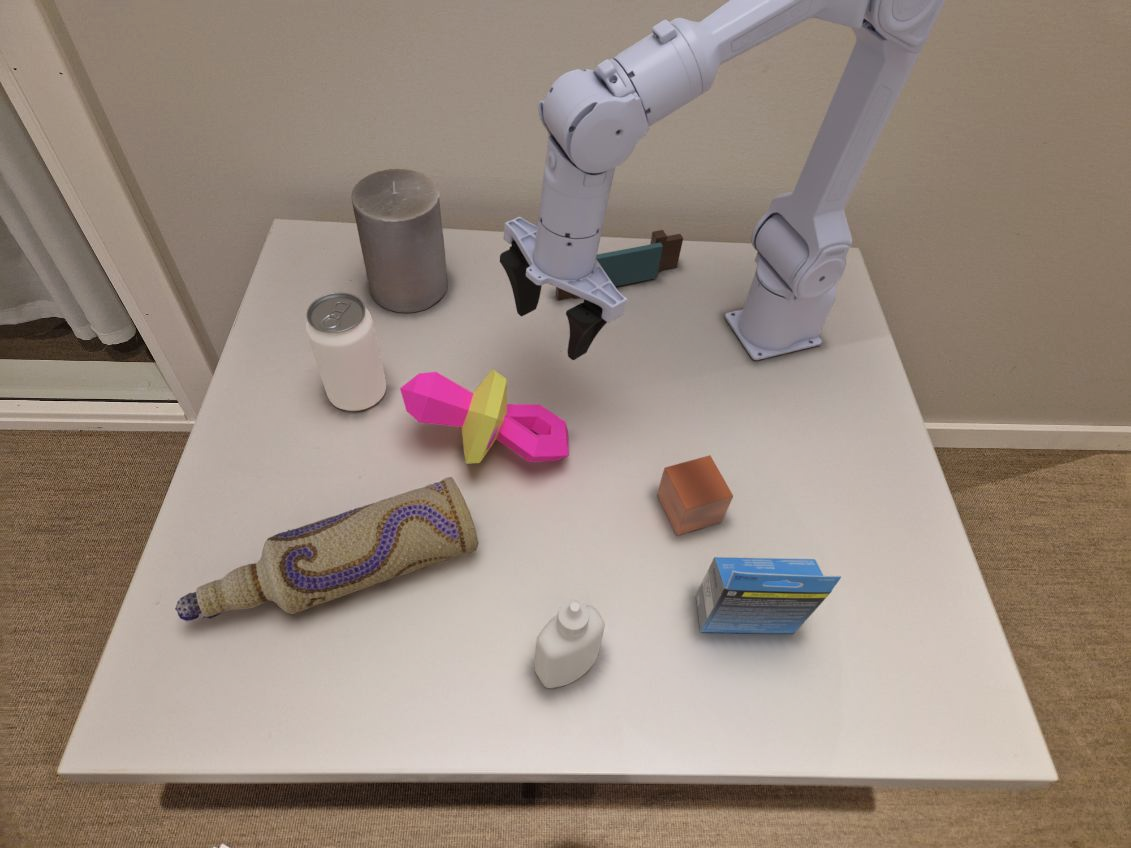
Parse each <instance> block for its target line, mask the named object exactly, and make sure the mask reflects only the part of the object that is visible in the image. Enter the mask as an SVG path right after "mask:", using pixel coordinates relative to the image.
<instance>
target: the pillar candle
mask: <svg viewBox="0 0 1131 848" xmlns="http://www.w3.org/2000/svg"><path fill="white" fill-rule="evenodd" d="M350 195H351V198H350V199H351V203H352V209H353V214H354V218H355V224H356V229H357V233H358V238H359V244H360V248H361V254H362V260H363V265H364V269H365V273H366V278H367V282H368V288H369V291H370V296H371V297H372V299H373V300H374V302H375V303H376V304H377V305H379V306H380V307H382V308H384V309H385V310H389V311H392V312H397V313H404V314H405V313H417V312H422V311H424V310H427V309H430V307H432V306H433V305H434V304H436V303H438V301H440V300H441V299H442V298H444V296H445V294H446V293H447V289H448V273H447V261H446V260H447V259H446V253H445V252H446V249H445V239H444V231H443V222H442V212H441V202H440V198H441V192H440V190H439V188H438V186H437V184H436V183H435V181H434V180H433V179H432V178H430V177H429V176H428V175H426V174H424V173H423V172H420V171H416V170H413V169H406V168H388V169H383V170H379V171H375V172H372V173H370V174H368V175H366V176H365V177H363V178H362V179H359V181H358V182H357V183H356V184H355V185H354V187H353V188H352V191H351V194H350Z"/></svg>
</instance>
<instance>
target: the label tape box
mask: <svg viewBox="0 0 1131 848" xmlns="http://www.w3.org/2000/svg"><path fill="white" fill-rule="evenodd" d="M841 578H842V575H824V574H823V571H822V570H821V567H820V566H819V564H818V561H817V560H816V559H815V558H774V557H773V558H772V557H771V558H770V557H769V558H768V557H767V558H766V557H763V558H761V557H725V556H724V557H723V556H722V557H720V556H719V557H718V556H714V558H712V561H711V563H710V565H709V567H708V569H707V572H706V574H705V575H704V577H703V579H702V582H701V583H700V585H699V587H698V589H697V592H696V594H695V600H696V608H697V615H698V622H699V631H700V632H701V633H729V634H731V633H733V634H734V633H735V634H738V633H739V634H795V633H796V632H797V631H798V630H799V629H800V628H801V627H802V626H803V625H804V624H805V622H807V620H808V619H809V618H810V617H811V616H813V613H815V612H816V610H817V609H818V608H819V607H820V606H821V605H822V604H823V603H824V601H825V600H826V599H827V598H828V596H829V595H830V594H831V593H832V591H833V590H834V588H835V587H836V586H837V584H838V583H839V581H840V580H841Z"/></svg>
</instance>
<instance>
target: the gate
mask: <svg viewBox="0 0 1131 848" xmlns="http://www.w3.org/2000/svg"><path fill="white" fill-rule="evenodd" d="M683 242H684V237H683V235H682V234H681V233H676V234H671V235H667V234H666V232H665V230H664V229H659V230H653V231H652V232H651V237H650V243H649V245H650V244H655V243H661V244H662V245H663V249H662V254H661V259H660V264H659V270H658V273H660V272H661V271H666V270H671V269H676V268H677V269H678V265H679V260H680V255H681V251H682V247H683ZM555 297H556V299H557V301H562V300H568V299H579V298H581V297H578V296H576V295H574V294H571V293H569V292H567V291H565V290H562V289H560V288H558V287H555Z"/></svg>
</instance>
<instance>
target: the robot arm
mask: <svg viewBox="0 0 1131 848" xmlns="http://www.w3.org/2000/svg"><path fill="white" fill-rule="evenodd" d="M946 2H947V0H728V1H727V2H725V3H724V4H723V5H721V6H720V7H719V8H717V9H716V10H714V11H713V12H712V13H710V14H709V15H707V16H706V17H704V18H703V19H702V20H701V21H693V20H689V19H686V18H682V17H676V18H673V19H672V20H670V21H668V20H667V19H663V20H662V21H660V22H659V23H657V24H655V25H653V26H652V27H651V33H649V34H648V35H646V36H645V37H643V38H642V39H640V40H639V41H637V42H635V43H634V44H632V45H630V46H629V47H627V48H626V49H624V50H623V51H620V52H619V53H618V54H617V55H616V54H615V55H614V56H613V57H611V58H610V59H605V60H603V61H602V62H600V63H598V64H597V65H596V67H595V68H594V69H590V68H584V69H583V70H582V69H581V68H576V69H573V70H570V71H567V72H565V73H563V74H562V75H560V76H559V77H558V78H557V79H556V80H554V81H553V83H552V84H551V85H550V87H549V89H548V91H547V94H546V96H545V98H544V100H540V101H539V102H538V104H537V107H538V108H537V109H538V116H539V120H540V122H541V124H542V125H543V127H544V128H545V129H546V131H547V136H548V138H547V145H546V146H547V147H546V155H545V162H544V169H543V177H542V186H541V193H540V201H539V208H538V215H537V224H536V225H535V224H534V223H532V222H530V221H528V220H527V219H525V218H524V217H522V216H518V217H515V218H513V219H510V220H508V221H506V222H504V228H503V241H505V242H506V243H508V244H509V245H511V246H509V249H507V250H504V251H503V252H501V253H500V255H499V263H500V264H501V266H502V268H503V269H504V271H505V274H506V276H507V278H508V280H509V283H510V286H511V290H512V293H513V300H514V304H515V308H516V309H515V310H516V313H517V314H518V315H519V316H520V317H521V318H522V317H524V316H526V315H528V314H530V313H531V312H534V311H535V310H537V307H538V306H539V303H540V302H539V301H540V297H541V293H542V288H543V285H546V284H548V285H551V286H553V287H555V288H556V287H558V288H560V289H562V290H565V291H567V292H569V293H571V294H574V295H576V296H578V297H580V298H581V299H583V302H580V303H578V304H576V305H575V306H572V307H571V308H569V309H567V310H566V312H565V316H566V318H567V321H568V326H569V339H568V344H567V357H568V358H569V359H570V360H571V361H575V360H576V359H578V358H581V357H582V356H583V355H585V354H587V352H588V351H589V349H590V347H591V345H592V344H593V342H594V340H595V338H596V337H597V335H598V334H599V333H600V331H601V330H602V329H603V328H604V326H606V325H607V324H610V323H611V322H614V321H616V320H618V319H619V318H621V317H623V316H624V314H625V310H626V306H627V303H628V298H627V297H625V295H623V293H621V292H620V291H619V290H618V289H617V286H614V285H613V283H612V282H611V280H610V279H609V277H608V276H607V274H606V273H605V271H604V270H603V268H602V267H601V265H600V264H599V262H598V261H597V259H596V256H597V254H598V251H599V246H600V241H601V237H602V233H603V228H604V222H605V218H606V212H607V208H608V204H609V199H610V194H611V189H612V185H613V182H614V181H613V180H614V175H615V170H616V167H619V166H622V165H623V164H624V163H625V162H626V160H628V158H629V157H630V155H631V154H632V153H633V152H634V150H635V148H636V146H637V144H638V143H639V141H640V140H641V139H643V138H644V137H646V136H647V133H648V132H649V131H650V128H651V126H653V125H654V124H656V123H658V122H659V121H661V120H663V119H664V118H667V117H668V116H669V115H671V114H673V113H674V112H675V111H678V110H679V109H680V108H682V107H684V106H686V105H687V104H689V103H691V102H692V101H694V100H695V99H697V98H698V97H700V96H701V95H704V94H706V93H707V92H708V91H710V89H711V88H712V86H713V84H714V82H715V78H716V75H717V73H718V70H719V67H720V66H721V65H723V64H725V63H727V62H729V61H731V60H733V59H734V58H735V59H736V58H737V57H738V56H740V55H743V54H744V53H746V52H747V51H748V52H749V51H750V50H752V49H755V48H756V47H758V46H760V45H762V44H763V43H765V42H768V41H769V40H772V39H773V38H775V37H777V36H779V35H780V34H783V33H784V32H786V31H788V30H790V29H792V28H794V27H796V26H798V25H799V24H801V23H803V22H806V21H808V20H809V19H818V20H821V21H824V22H829V23H832V24H837V25H841V26H844V27H848V28H851V30H852V31H853V34H854V36H855V38H856V39H855V43H854V45H853V48H852V50H851V53H850V55H849V57H848V60H847V62H846V64H845V67H844V70H843V71H842V74H841V76H840V79H839V82H838V83H837V86H836V88H835V91H834V94H833V96H832V98H831V101H830V103H829V105H828V108H827V110H826V111H825V115H824V117H823V120H822V122H821V124H820V127H819V128H818V132H817V133H816V136H815V138H814V141H813V143H812V146H811V148H810V150H809V153H808V156H807V157H806V160H805V162H804V164H803V167H802V170H801V172H800V174H799V176H798V179H797V181H796V184H795V186H794V189H793V190H791V191H787V192H783V193H780V194H778V195H776V196H774V197H773V198H772V199H771V201H770V204H769V206H768V207H767V209H766V211H765V213H764V214H763V216H762V217H761V218H760V219H759V220H758V221H757V223H756V225H755V226H754V228H753V230H752V233H751V236H750V243H751V246H752V248H753V249H754V250H755V251H756V255H755V258H754V262H755V263H756V268H755V271H754V275H753V278H752V280H751V281H752V282H751V285H750V287H749V290H748V292H747V297H746V299H745V302H744V305H743V308H742V309H738V310H734V311H728V312H726V313H725V315H724V319H725V320H726V321H727V323H728V324H729V326H730V328H731V329H732V331H733V332H734V333H735V335H736V336H737V338H738V340H739V341H740V343H741V344H742V346H743V347H744V349H745V350H746V352H747V353H748V354H749V356H750V358H751V359H752V360H754V361H760V360H764V359H769V358H772V357H776V356H781V355H785V354H789V353H793V352H797V351H801V350H805V349H809V348H813V347H818V346H820V345H822V343H823V340H822V338H820V335H821V332H822V330H823V328H824V326H825V324H826V321H827V320H828V317H829V316H830V314H831V311H832V309H833V306H834V305H835V302H836V296H837V286H836V284H838V283H839V281H840V280H841V278H842V276H843V274H844V272H845V269H846V266H847V257H848V252H849V250H850V248H851V246H852V245H853V237H852V234H851V230H850V227H849V222H848V219H847V216H846V212H845V208H846V206H847V204H848V203H849V200H850V198H851V196H852V195H853V192H854V190H855V188H856V185H857V184H858V182H859V180H860V177H861V175H862V174H863V172H864V169H865V167H866V165H867V164H868V161H869V159H870V157H871V155H872V153H873V151H874V149H875V147H876V145H877V143H878V141H879V139H880V137H881V135H882V132H883V131H884V129H885V127H886V124H887V122H888V120H889V118H890V116H891V114H892V112H893V110H894V108H895V106H896V104H897V103H898V101H899V98H900V96H901V94H902V92H903V90H904V88H905V86H906V84H907V82H908V80H909V78H910V76H911V74H912V72H913V70H914V67H915V66H916V63H917V61H918V60H919V57H920V55H921V53H922V52H923V50H924V47H925V45H926V44H927V41H928V39H929V38H930V34H931V32H932V30H933V27H934V26H935V24H936V21H937V19H938V17H939V15H940V14H941V11H942V9H943V7H944V5H945V3H946Z"/></svg>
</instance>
